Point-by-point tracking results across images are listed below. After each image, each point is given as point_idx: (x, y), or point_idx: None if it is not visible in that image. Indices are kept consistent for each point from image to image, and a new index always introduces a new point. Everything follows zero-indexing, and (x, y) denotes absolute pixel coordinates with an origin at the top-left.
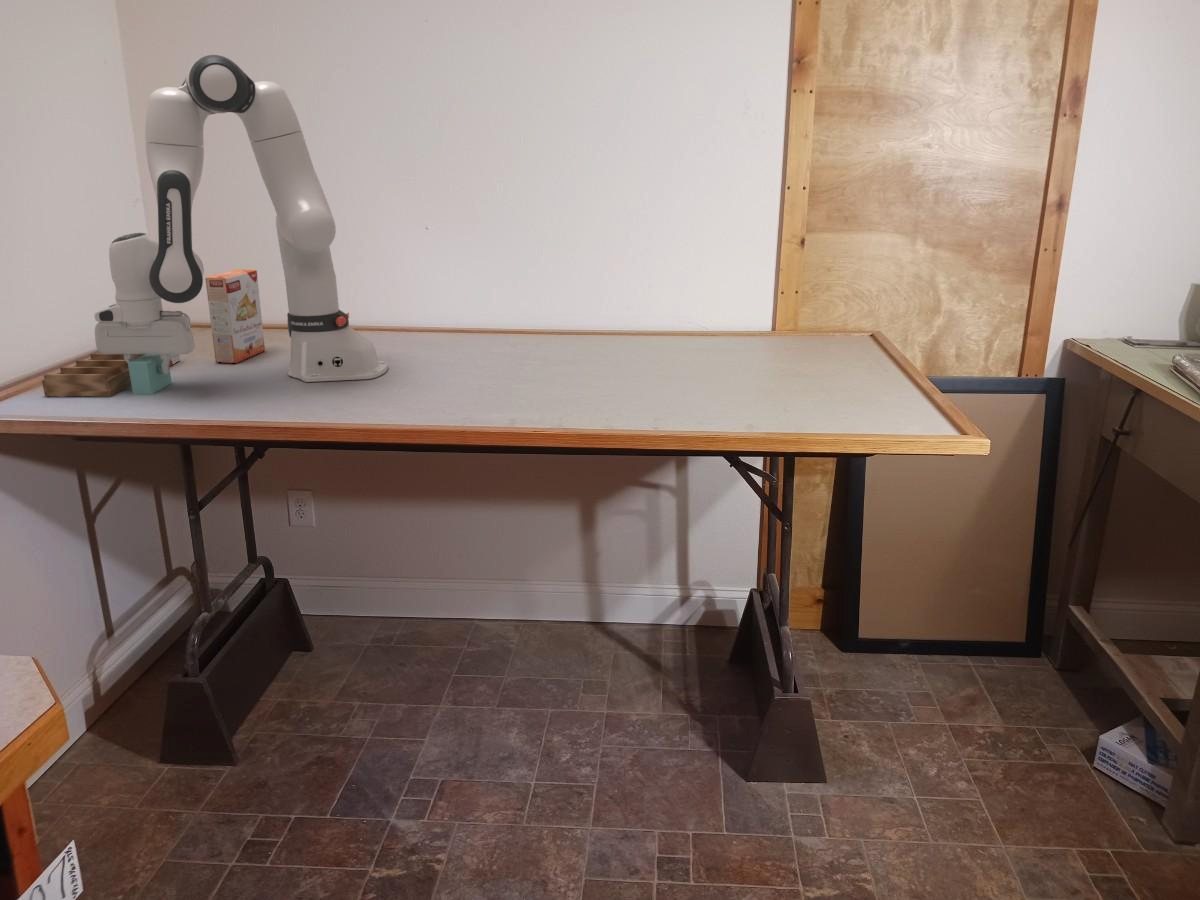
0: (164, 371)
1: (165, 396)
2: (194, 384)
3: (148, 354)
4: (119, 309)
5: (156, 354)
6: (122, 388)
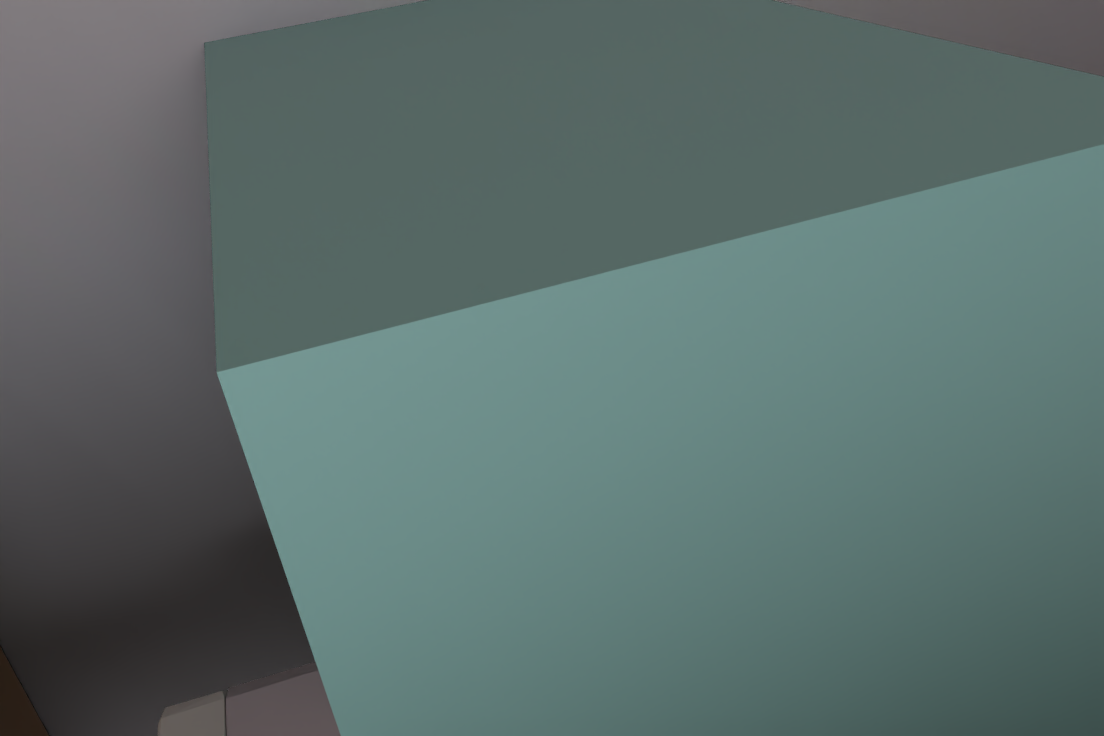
0: None
1: None
2: (1090, 27)
3: (513, 717)
4: None
5: (894, 597)
6: (28, 729)
